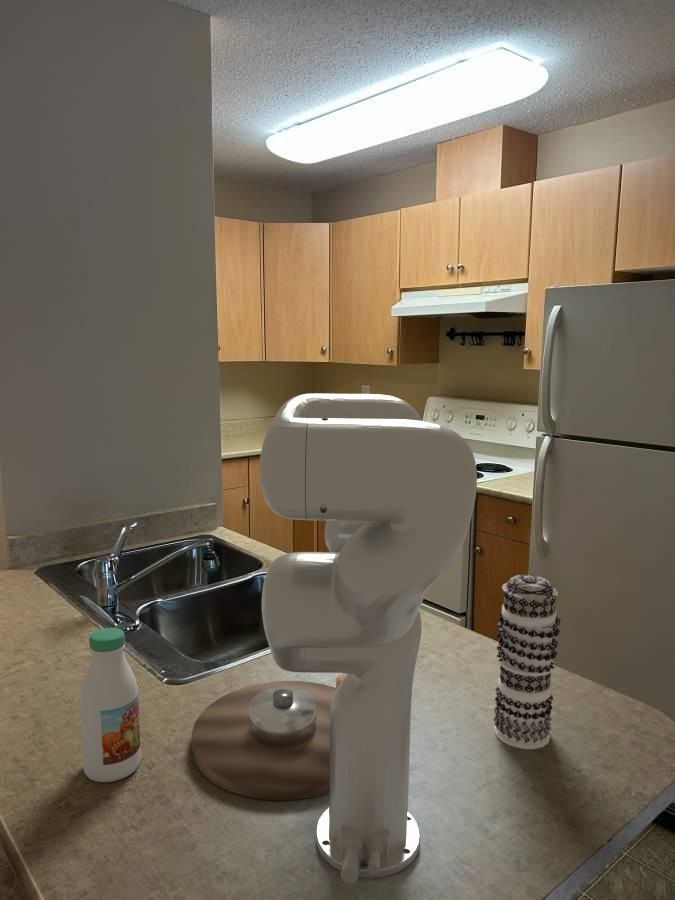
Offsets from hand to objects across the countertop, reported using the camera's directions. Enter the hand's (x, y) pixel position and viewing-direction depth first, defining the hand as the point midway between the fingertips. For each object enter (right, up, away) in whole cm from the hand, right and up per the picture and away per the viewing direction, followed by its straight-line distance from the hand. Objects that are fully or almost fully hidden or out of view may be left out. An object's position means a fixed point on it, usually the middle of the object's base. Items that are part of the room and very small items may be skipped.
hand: (362, 686), depth 102 cm
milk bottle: (-36, -9, -7) cm, 37 cm away
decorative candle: (+25, -8, +2) cm, 26 cm away
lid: (-12, -6, -1) cm, 13 cm away
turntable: (-12, -8, 0) cm, 14 cm away
